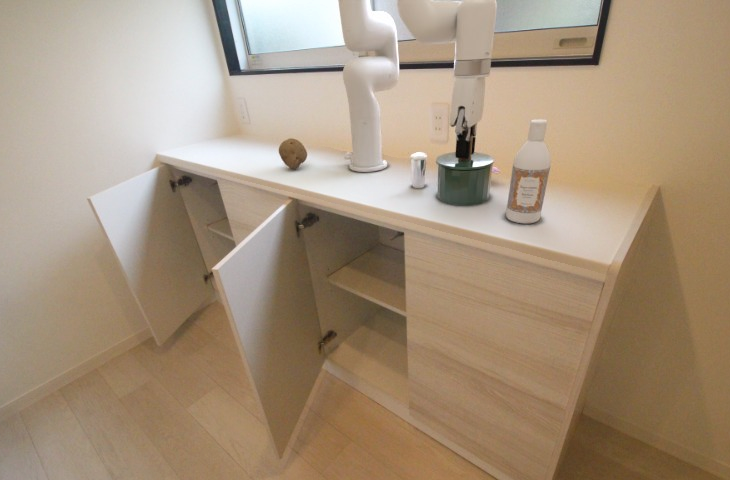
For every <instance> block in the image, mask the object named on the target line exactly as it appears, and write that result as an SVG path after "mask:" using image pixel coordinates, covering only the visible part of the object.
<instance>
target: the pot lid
mask: <svg viewBox="0 0 730 480" xmlns="http://www.w3.org/2000/svg"><path fill="white" fill-rule="evenodd" d="M469 141H471V143H470V154H469V158H468V159H464V158H456V157H455V154H456V151H454V152H447V153H443V154H440V155H439V156H436V158H435V163H436V165H437V166H438V165H439V166H442V167H445V168H449V169H457V170H474V169H481V168H486V167H489V166H491V165H492V164H494V162H495V158H494V157H493V156H491V155H489V154H486V153H483V152H477V151H476V152H475V151H474V154H472V155H471V153H472V142H473V135H471V134H470V138H469ZM492 166H493V165H492Z"/></svg>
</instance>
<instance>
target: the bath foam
mask: <svg viewBox="0 0 730 480" xmlns="http://www.w3.org/2000/svg"><path fill="white" fill-rule="evenodd" d="M547 125H548V120H546V119H532V120H530V122H529V129H528V135H527V140H526V141H525V142H524V144H523V145H522V146H521V147H520V148H519V150H518V151H517V153H516V155H515V156H514V160H513V163H512V167H511V176H510V182H509V188H508V197H507V204H506V211H505V217H506V218H507V220H509V221H511V222H513V223H517V224H525V225H526V224H527V225H529V224H535V223H537V222H538V221H540V219H541V216H542V215H541V214H542V211H543V205H544V200H545V196H546V190H547V186H548V180H549V175H550V169H551V162H552V159H551V153H550V150H549V149H548V146H547V144H546V141H545V136H546V131H547Z"/></svg>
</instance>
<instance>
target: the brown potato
mask: <svg viewBox="0 0 730 480" xmlns="http://www.w3.org/2000/svg"><path fill="white" fill-rule="evenodd" d="M307 151H308V150H307V149H306V147H305V146H304V145H303V143H302V141H300V140H298V139H296V138H290V137H289V138H287V139H285V140H283V141H282V142H281V144H280V145H279V147H278V154H279V157H280V159H281V160H282V162H283V163H284V165H285V166H286V167H288V169H290V170H293V171H294V170H297V169H298V168H299V167H300V166H301V165H302V164H303V163H305V161H307V158H308V152H307Z"/></svg>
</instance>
